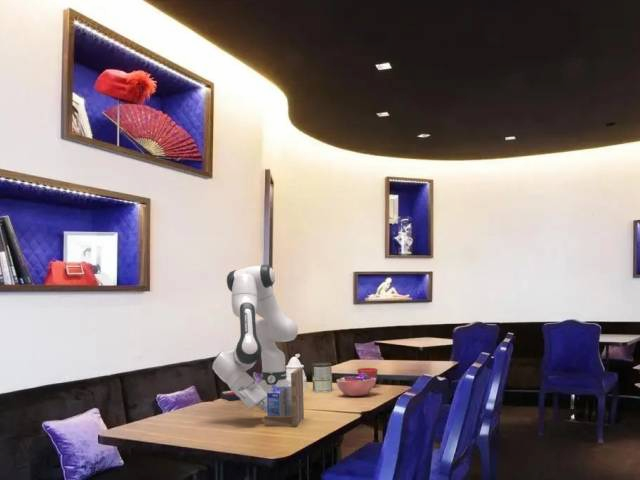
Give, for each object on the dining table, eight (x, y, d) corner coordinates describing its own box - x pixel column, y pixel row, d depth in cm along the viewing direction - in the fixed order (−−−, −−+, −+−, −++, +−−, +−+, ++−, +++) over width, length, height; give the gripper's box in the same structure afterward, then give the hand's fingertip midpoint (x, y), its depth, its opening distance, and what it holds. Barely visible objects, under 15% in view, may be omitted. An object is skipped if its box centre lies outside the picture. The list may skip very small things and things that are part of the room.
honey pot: (306, 385, 338) (305, 353, 340) (306, 389, 325) (305, 355, 327) (283, 386, 338) (282, 353, 340) (282, 389, 325) (281, 355, 327)
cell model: (331, 395, 303) (330, 372, 304) (367, 391, 310) (367, 369, 311) (344, 400, 287) (343, 375, 288) (382, 396, 294) (381, 372, 295)
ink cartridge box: (272, 419, 245) (272, 382, 246) (285, 419, 244) (286, 383, 245) (266, 424, 235) (266, 386, 237) (280, 425, 234) (280, 386, 236)
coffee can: (308, 391, 318) (308, 363, 319) (325, 389, 324) (324, 362, 325) (320, 393, 309) (319, 365, 311) (336, 391, 315) (335, 363, 317)
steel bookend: (274, 417, 250) (273, 385, 251) (300, 417, 248) (299, 384, 250) (271, 419, 246) (271, 386, 247) (298, 419, 244) (297, 386, 245)
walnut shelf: (273, 417, 249) (272, 368, 251) (303, 417, 247) (302, 367, 249) (263, 427, 231) (262, 373, 233) (296, 427, 230) (294, 373, 231)
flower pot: (376, 385, 331) (375, 367, 332) (379, 388, 320) (378, 369, 321) (357, 386, 330) (356, 368, 331) (359, 389, 320) (358, 370, 321)
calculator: (220, 391, 303) (248, 387, 311) (221, 400, 303) (248, 395, 311) (229, 394, 294) (257, 389, 302) (229, 403, 294) (257, 398, 301)
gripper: (242, 384, 232) (267, 410, 230) (255, 377, 253) (278, 401, 250) (231, 395, 233) (256, 422, 230) (244, 388, 253) (268, 412, 250)
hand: (268, 411), depth 240 cm, fingers closed, pressing on ink cartridge box
